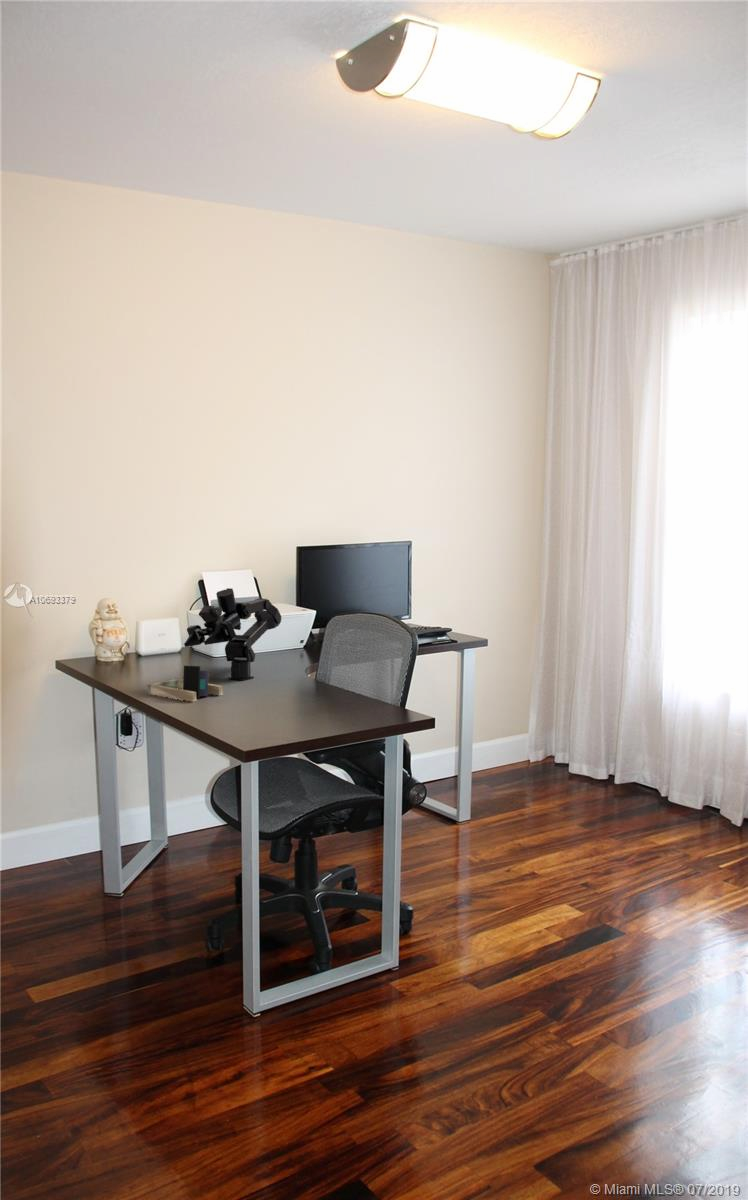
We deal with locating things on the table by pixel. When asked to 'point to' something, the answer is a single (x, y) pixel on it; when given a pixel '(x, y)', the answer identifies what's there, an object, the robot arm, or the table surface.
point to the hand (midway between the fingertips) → (194, 644)
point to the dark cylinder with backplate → (196, 680)
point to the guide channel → (179, 690)
